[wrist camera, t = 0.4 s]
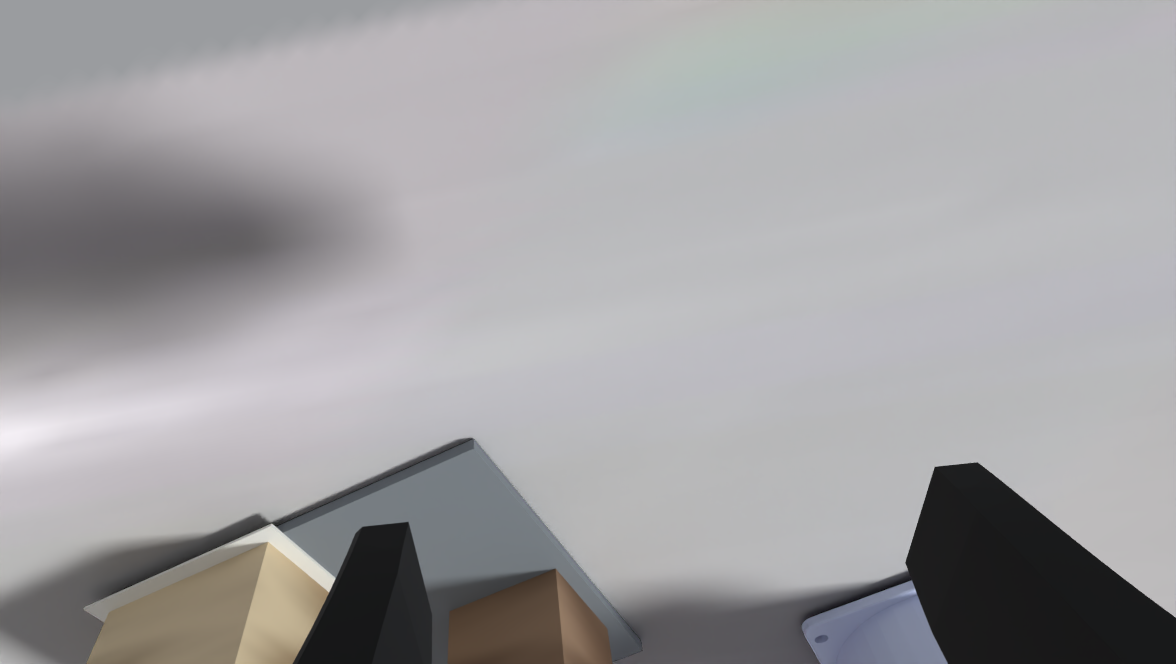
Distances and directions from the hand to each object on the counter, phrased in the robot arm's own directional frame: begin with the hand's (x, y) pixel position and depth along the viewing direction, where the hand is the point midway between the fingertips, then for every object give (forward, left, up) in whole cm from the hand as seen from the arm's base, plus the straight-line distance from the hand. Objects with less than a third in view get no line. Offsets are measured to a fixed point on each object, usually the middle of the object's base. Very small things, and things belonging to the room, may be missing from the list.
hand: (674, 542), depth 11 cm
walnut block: (-13, +9, -9) cm, 18 cm away
